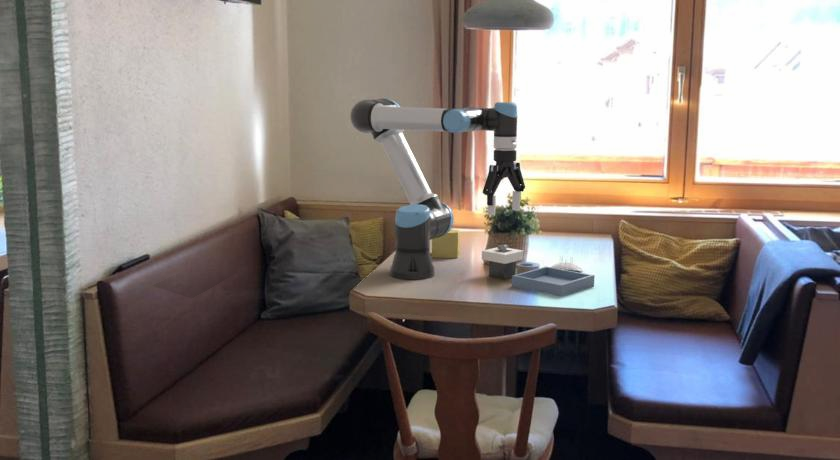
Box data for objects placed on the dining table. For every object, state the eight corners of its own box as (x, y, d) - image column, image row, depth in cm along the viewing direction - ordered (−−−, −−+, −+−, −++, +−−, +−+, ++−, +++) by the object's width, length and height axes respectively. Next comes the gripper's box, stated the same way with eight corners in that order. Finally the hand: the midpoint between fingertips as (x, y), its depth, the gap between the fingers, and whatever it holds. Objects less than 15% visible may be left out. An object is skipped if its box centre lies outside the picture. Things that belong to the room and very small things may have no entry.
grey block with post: (503, 279, 288) (504, 248, 286) (488, 276, 293) (489, 245, 291) (515, 276, 293) (516, 245, 291) (500, 273, 297) (501, 242, 295)
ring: (505, 263, 285) (505, 255, 284) (477, 258, 293) (477, 249, 292) (523, 259, 292) (523, 250, 291) (495, 254, 300) (495, 245, 299)
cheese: (459, 253, 332) (460, 227, 330) (458, 259, 321) (458, 232, 319) (433, 252, 333) (433, 227, 331) (430, 258, 322) (430, 232, 320)
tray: (561, 296, 267) (561, 285, 266) (511, 286, 280) (512, 275, 279) (594, 285, 281) (594, 275, 280) (545, 276, 293) (545, 266, 293)
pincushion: (584, 270, 304) (585, 254, 303) (582, 274, 298) (583, 258, 297) (550, 268, 307) (550, 252, 306) (548, 272, 301) (548, 256, 300)
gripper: (490, 152, 274) (489, 218, 277) (536, 147, 292) (534, 209, 295) (472, 150, 279) (471, 215, 282) (518, 146, 297) (517, 207, 300)
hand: (503, 212), depth 289 cm, fingers open, 13 cm apart
